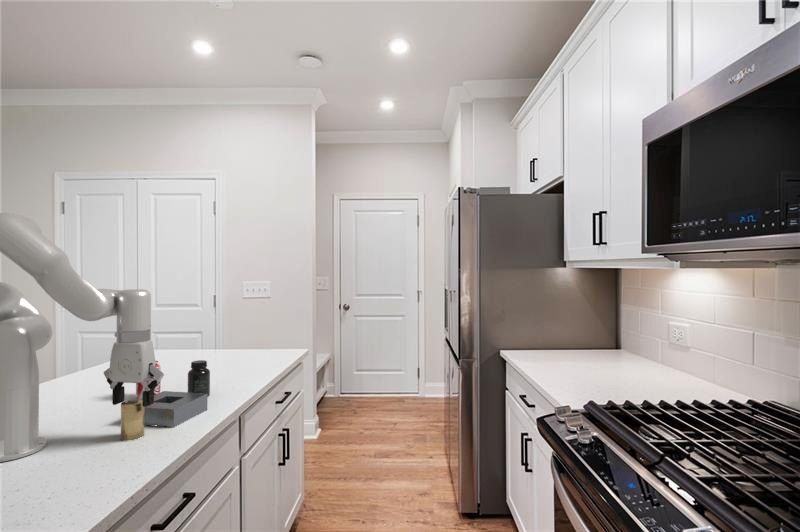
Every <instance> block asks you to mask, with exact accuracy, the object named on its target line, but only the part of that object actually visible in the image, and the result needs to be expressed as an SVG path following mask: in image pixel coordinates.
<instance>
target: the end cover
mask: <svg viewBox="0 0 800 532" xmlns="http://www.w3.org/2000/svg"><path fill="white" fill-rule="evenodd" d="M144 423H145V407H143V399H139V398H136V399H135V398H134V399H129V400H124V402H121V403H120V440H121V441H122V440H132V441H135V440H134V439H137V440H139V439H138V438H140V437H142V436H143V437H144V436H145V425H144ZM143 437H142V438H143ZM140 439H141V438H140Z"/></svg>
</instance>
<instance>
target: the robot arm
mask: <svg viewBox="0 0 800 532" xmlns="http://www.w3.org/2000/svg"><path fill="white" fill-rule="evenodd" d="M0 253H1V254H2V255H4V256H5V257H6V258H7V259H9V260H10V261H11V262H13V263H14V264H15V265H17V266H18V267H19V268H20V269H22V270H23V271H25V272H26V273H27V274H28V275H30V276H31V277H32V278H33V279H34V281H35V282H36V284H38V285H39V286H40V287H41V289H43V290H44V292H45V293H46V294H47V295H48V296H49V297H50V298H51V299H52V300H54V301H55V302H56V303H57V304H59V305H60V306H62V308H64V309H65V310H66V311H68V312H69V313H70V314H72V315H73V316H75V317H76V318H78V319H80V320H83V321H86V322H96V321H100V320H102V319H106V318H110V317H115V316H116V331H115V333H114V334H113V335H114V337H115V338H116V341H115V342H113V345H112V348H111V353H110V360H109V367H108V368H107V369H106V370H103V375H104V378H105V379H106V382H107V383H108V385H109V388H110V389H111V390H112V405H113V406H115V405H116V406H117V405H119V404H121V403H122V402H125V394H126V393H125V386H124V384H125V383H127V384H136V383H141V384H142V386H143V387H144V389H145V391H143V407H146V406H149V405H151V404H153V403H154V389H155V388H156V387H157V385H158V384H159V383H160V384H161V381H162V379H164V378H163V377H164V376H165V374H164V373H163V372H162V370H161V369H160V370H159V369H157V368H156V367H155V361H156V355H155V350H154V349H155V348H154V343H153V341H152V340H151V335H152V334H151V330H152V329H151V322H152V321H151V320H152V319H151V318H152V316H151V315H152V314H151V313H152V312H151V311H152V307H151V306H152V295H151V292H150V291H149V290H148V289H143V288H140V289H139V288H137V289H133V288H132V289H121V290H120V289H109V288H96V287H94V286H93V285H92V284H90V283H89V281H87V280H86V279H84V278H83V277H82V276H81V275H80V274H79V273H78V272H77V271H75V269H74V268H73V266H72V265H71V263H70V258H69V256H68V254H66V252H65V251H64V250H62V249H61V248H60V247H58V246H57V245H56V244H55V243H54V242H52V241H51V240H50V239H48V237H46V236H45V235H44V234H43V233H42V230H41V227H40V226H39V224H38V223H36V222H35V220H33V219H32V218H31V219H30V218H29V217H26V216H24V215H19V214H15V213H11V212H0ZM52 337H53V328H52V325H51V323H50V321H49V320H48V319H47V318H46V316H45V315H43V313H42V312H41V311H40V310H39V309H38V308H37V307H36V306H35V304H33V303H32V302H31V301H30V300H29V299H28V298H27V297H26V296H25V295H24V294H23V292H21V291H20V290H19V289H18V288H16V287H15V286H13V285H11V284H9V283H5V282H2V281H0V463H2V462H8V461H13V460H17V459H18V460H19V459H21V458H24V457H27V456H30V455H33V454H35V453H37V452H39V451H42V450H43V449H45V448H46V446H47V443H48V441H47V439H46V438H45V437H42V436H39V431H40V429H39V425H40V424H39V422H40V419H39V417H40V415H39V413H40V412H39V411H40V410H39V409H40V372H39V371H40V370H39V363H38V357H37V351H38V350H41V349H43V348H44V347H45V346H47V345H48V344H49V342H50V341H51V339H52ZM154 376H155V378H154ZM153 378H154V380H153ZM147 381H148V382H149V384H148V383H147Z"/></svg>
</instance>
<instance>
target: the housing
mask: <svg viewBox="0 0 800 532" xmlns="http://www.w3.org/2000/svg"><path fill="white" fill-rule="evenodd" d="M206 411H208V397H207V394H206V393H189V392H188V391H187V392H186V391H184V392H183V391H167V390H166V391H165V390H163V391H160V393H158V394H156V395H154V403H153V404H151V405H149V406H146V407H145V423H144V426H145V425H157V426H156V427H158V426H167V427H166V428H172V427H174V428H176V427H177V425H178V426H180V425H181V424H180V423H182V422H183V423H185V422H187V421H189V420H191V419H193V418H195V417H196V415H197V416H199V415H201V414H202V413H204V412H206ZM194 416H195V417H194ZM192 417H193V418H192ZM190 418H191V419H190ZM188 419H189V420H188ZM186 420H187V421H186ZM184 421H185V422H184ZM183 423H182V424H183ZM179 424H180V425H179ZM175 426H176V427H175Z"/></svg>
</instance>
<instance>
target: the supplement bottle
mask: <svg viewBox="0 0 800 532" xmlns="http://www.w3.org/2000/svg"><path fill="white" fill-rule="evenodd" d="M190 364H191V365H190V368H191V369H190V370H189V371H188V372H187V392H189V393H206V394H207V398H209V396H210V393H211V371H210V369H209V368H207V367H208V361H207V360H205V359H204V360H203V359H202V360H199V359H198V360H193V361H191V363H190Z"/></svg>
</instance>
